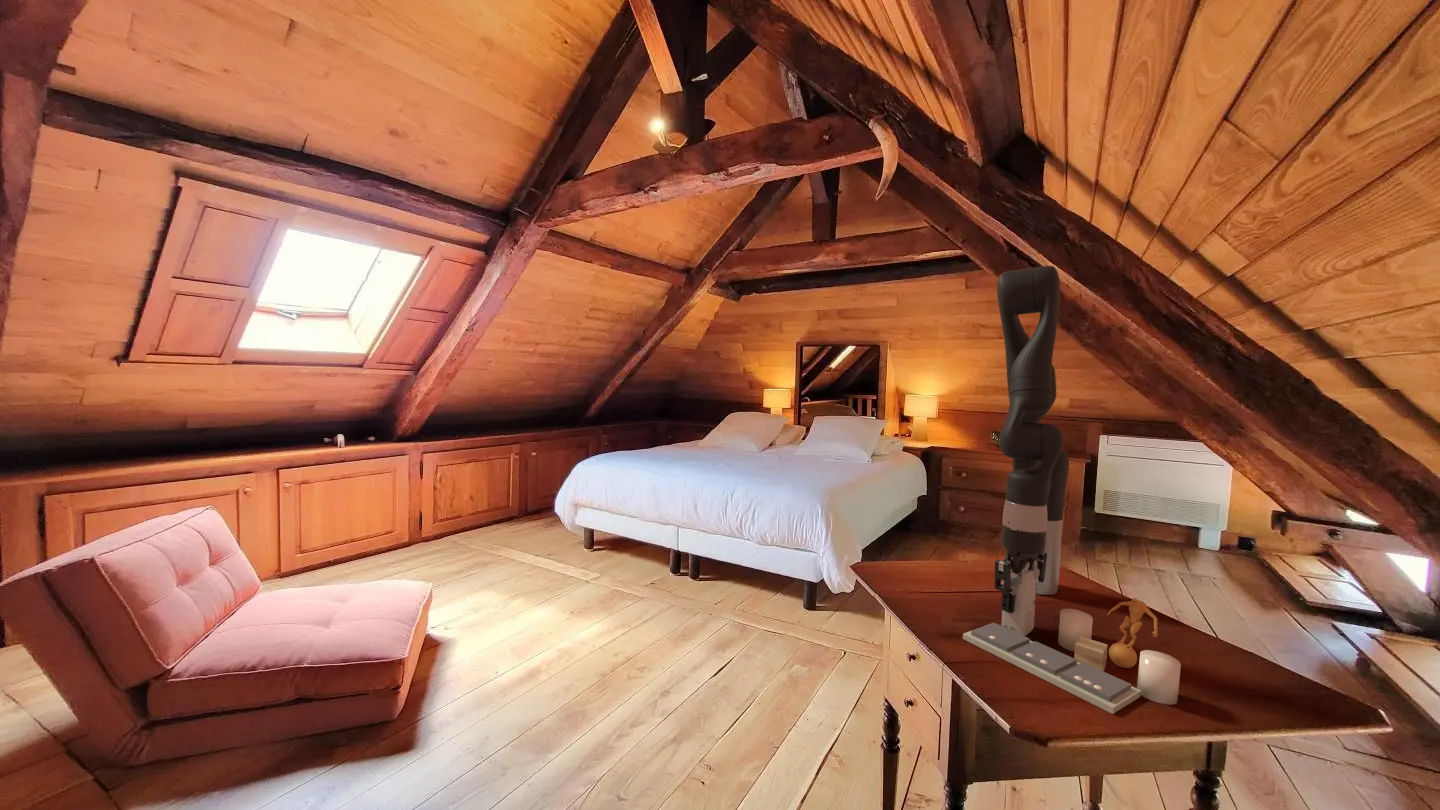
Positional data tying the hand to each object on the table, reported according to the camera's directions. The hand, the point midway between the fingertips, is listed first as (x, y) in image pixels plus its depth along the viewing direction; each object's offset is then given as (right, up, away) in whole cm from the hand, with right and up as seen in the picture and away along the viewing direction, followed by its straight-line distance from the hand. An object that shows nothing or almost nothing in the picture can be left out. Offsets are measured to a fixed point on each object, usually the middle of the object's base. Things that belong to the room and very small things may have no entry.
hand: (1018, 607), depth 106 cm
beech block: (+5, -6, -13) cm, 15 cm away
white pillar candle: (+11, -6, -21) cm, 24 cm away
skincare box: (0, -5, 0) cm, 5 cm away
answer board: (-3, -5, -13) cm, 14 cm away
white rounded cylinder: (+7, -5, -6) cm, 11 cm away
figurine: (+12, -6, -12) cm, 18 cm away
